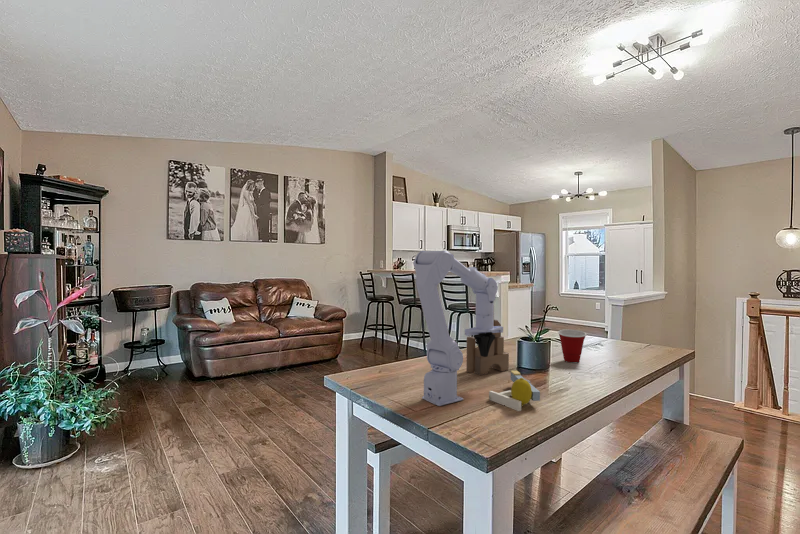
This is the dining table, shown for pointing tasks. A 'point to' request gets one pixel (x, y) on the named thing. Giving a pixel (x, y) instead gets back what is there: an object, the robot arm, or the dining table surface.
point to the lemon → (521, 391)
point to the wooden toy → (495, 356)
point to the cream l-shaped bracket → (505, 399)
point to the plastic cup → (572, 344)
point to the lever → (535, 393)
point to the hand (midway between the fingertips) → (484, 356)
